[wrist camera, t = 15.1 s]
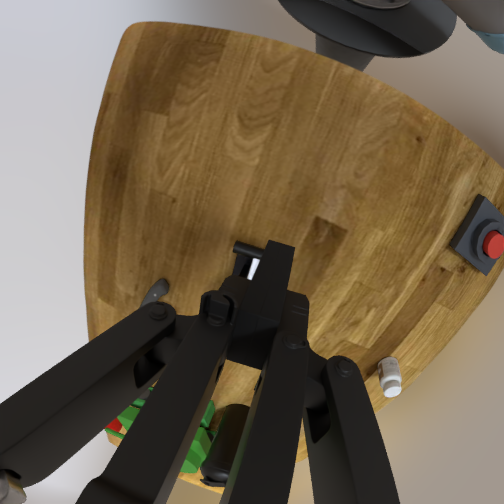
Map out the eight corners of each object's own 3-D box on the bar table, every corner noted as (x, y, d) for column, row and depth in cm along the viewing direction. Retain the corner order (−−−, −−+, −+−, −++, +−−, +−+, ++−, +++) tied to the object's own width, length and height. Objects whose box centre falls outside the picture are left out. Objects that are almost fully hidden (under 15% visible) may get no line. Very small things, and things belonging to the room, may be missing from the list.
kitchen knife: (132, 357, 63) (115, 349, 61) (134, 350, 65) (117, 341, 63) (178, 296, 49) (155, 283, 47) (181, 286, 51) (158, 274, 49)
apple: (132, 417, 83) (119, 437, 74) (121, 417, 87) (109, 436, 77) (115, 402, 81) (101, 422, 72) (105, 403, 85) (92, 422, 75)
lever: (238, 239, 33) (234, 241, 31) (287, 255, 32) (286, 258, 30) (212, 328, 35) (207, 336, 32) (256, 343, 34) (253, 352, 32)
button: (491, 225, 29) (496, 229, 28) (503, 238, 29) (508, 242, 28) (478, 246, 31) (483, 251, 30) (491, 258, 31) (496, 263, 30)
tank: (109, 372, 72) (83, 408, 57) (212, 399, 64) (191, 449, 49) (136, 415, 81) (117, 447, 67) (226, 439, 73) (211, 480, 59)
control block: (478, 193, 31) (491, 199, 28) (508, 225, 31) (520, 233, 28) (449, 244, 36) (459, 254, 32) (480, 270, 36) (490, 281, 32)
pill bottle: (374, 361, 48) (378, 390, 41) (394, 353, 46) (401, 382, 39) (380, 373, 49) (384, 401, 42) (399, 365, 47) (405, 393, 40)
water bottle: (218, 400, 63) (188, 474, 43) (256, 403, 61) (232, 483, 40) (228, 420, 67) (204, 488, 47) (264, 423, 64) (244, 495, 44)
